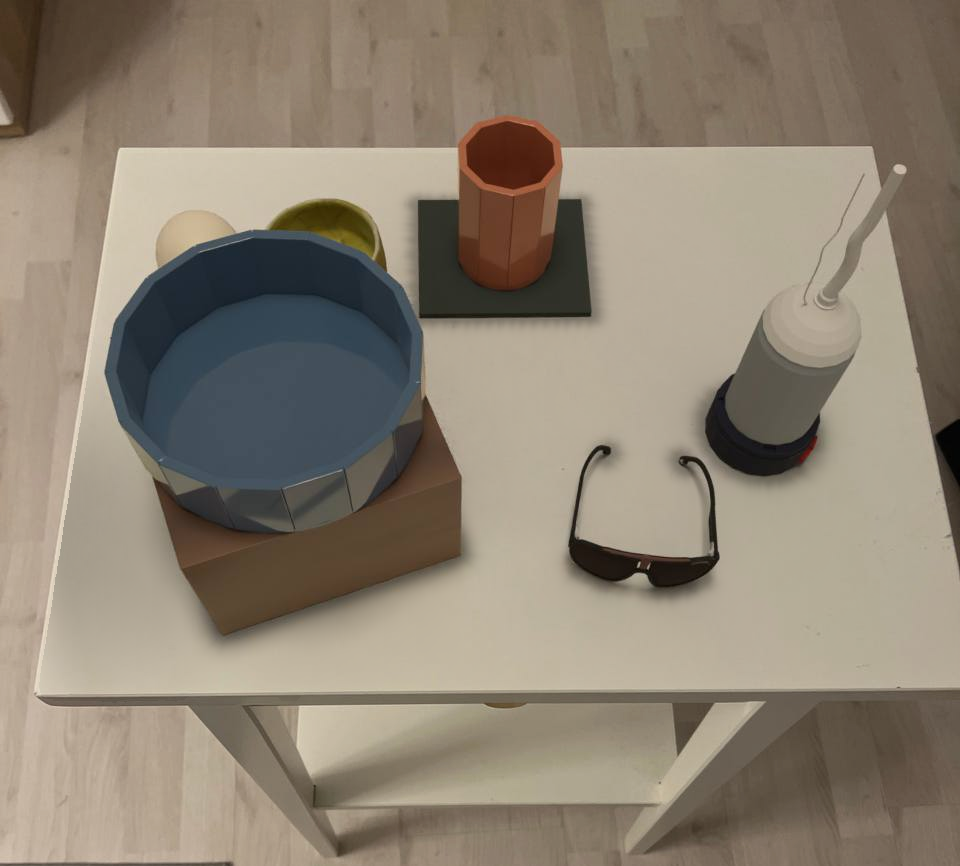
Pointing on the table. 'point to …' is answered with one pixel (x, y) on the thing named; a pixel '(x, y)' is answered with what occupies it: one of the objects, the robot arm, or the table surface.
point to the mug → (334, 224)
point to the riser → (324, 544)
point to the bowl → (270, 379)
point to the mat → (460, 296)
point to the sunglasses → (624, 564)
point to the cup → (507, 201)
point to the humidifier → (792, 364)
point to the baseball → (189, 233)
